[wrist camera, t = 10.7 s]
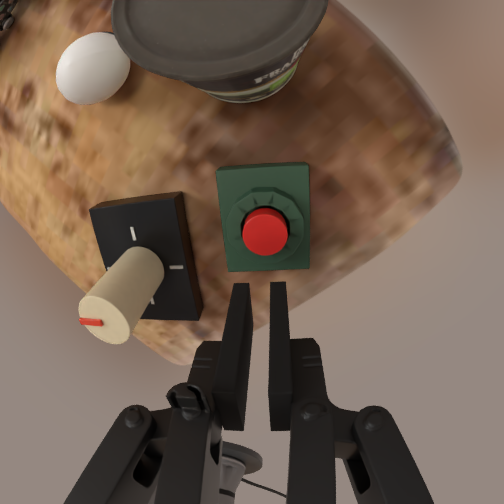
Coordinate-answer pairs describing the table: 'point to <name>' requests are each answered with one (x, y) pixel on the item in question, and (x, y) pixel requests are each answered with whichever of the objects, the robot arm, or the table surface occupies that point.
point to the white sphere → (92, 69)
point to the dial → (122, 295)
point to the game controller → (6, 13)
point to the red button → (265, 232)
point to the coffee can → (218, 41)
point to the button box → (265, 196)
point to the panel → (153, 248)
